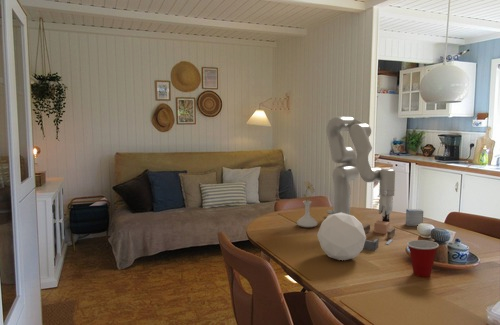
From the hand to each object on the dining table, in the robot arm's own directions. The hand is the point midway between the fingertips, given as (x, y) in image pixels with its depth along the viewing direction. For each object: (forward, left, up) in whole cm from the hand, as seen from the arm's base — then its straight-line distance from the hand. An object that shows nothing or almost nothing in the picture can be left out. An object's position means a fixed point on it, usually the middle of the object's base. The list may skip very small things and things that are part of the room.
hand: (385, 226), depth 199 cm
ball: (-3, -55, -2) cm, 55 cm away
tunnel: (0, -13, -1) cm, 13 cm away
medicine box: (+11, +16, -2) cm, 19 cm away
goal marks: (0, -23, -1) cm, 23 cm away
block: (0, -7, -2) cm, 7 cm away
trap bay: (0, -36, -1) cm, 36 cm away
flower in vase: (-37, -19, -2) cm, 42 cm away
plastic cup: (+28, -54, -2) cm, 61 cm away
